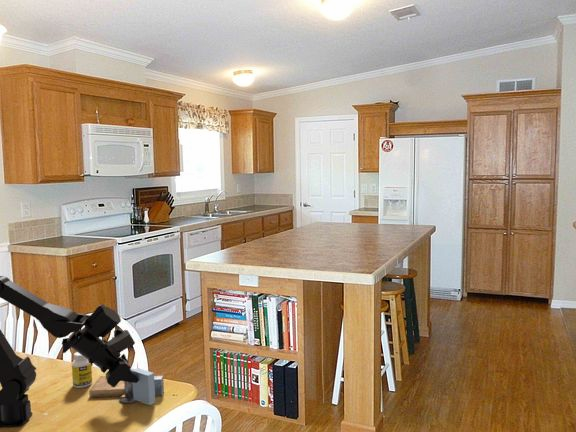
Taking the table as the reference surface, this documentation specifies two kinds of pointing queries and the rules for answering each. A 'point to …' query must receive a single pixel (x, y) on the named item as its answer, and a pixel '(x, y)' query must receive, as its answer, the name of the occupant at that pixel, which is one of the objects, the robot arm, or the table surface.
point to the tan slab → (113, 390)
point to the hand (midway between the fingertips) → (137, 380)
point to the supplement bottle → (81, 371)
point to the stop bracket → (158, 385)
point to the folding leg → (144, 386)
